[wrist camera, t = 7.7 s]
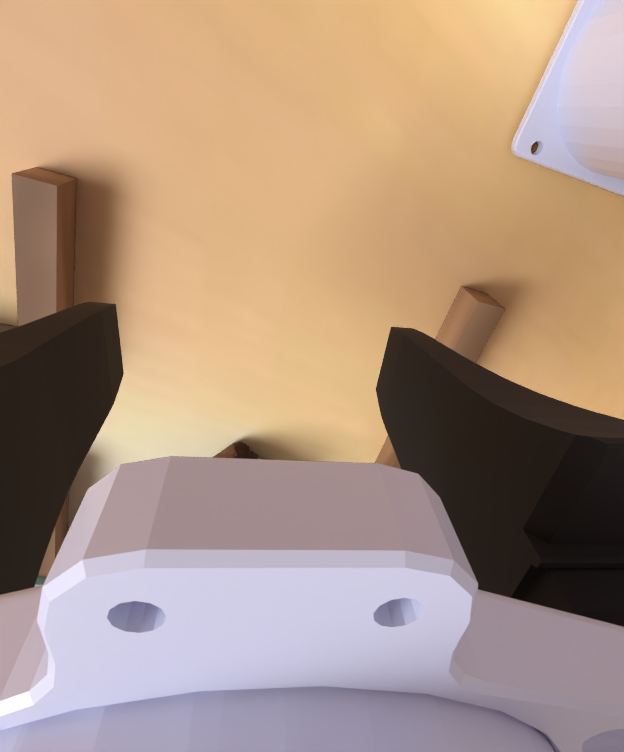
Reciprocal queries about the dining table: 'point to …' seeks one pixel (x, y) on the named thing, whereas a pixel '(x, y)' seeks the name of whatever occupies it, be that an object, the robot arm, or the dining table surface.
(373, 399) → the dining table surface
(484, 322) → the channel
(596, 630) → the robot arm
